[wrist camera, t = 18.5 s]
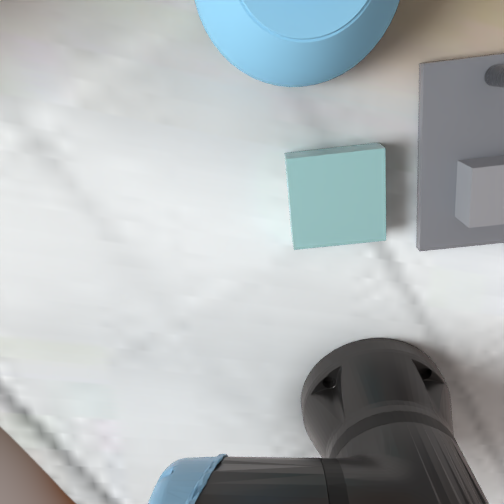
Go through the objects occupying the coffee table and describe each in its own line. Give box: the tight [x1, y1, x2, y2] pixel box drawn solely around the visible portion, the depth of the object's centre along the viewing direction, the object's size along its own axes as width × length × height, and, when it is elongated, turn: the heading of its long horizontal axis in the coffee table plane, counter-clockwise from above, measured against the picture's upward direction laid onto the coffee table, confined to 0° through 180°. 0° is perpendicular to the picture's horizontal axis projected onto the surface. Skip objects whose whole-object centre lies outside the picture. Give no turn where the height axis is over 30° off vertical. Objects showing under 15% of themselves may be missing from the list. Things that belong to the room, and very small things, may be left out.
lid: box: [285, 143, 386, 250], centre depth 41 cm, size 8×8×3 cm
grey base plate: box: [416, 53, 504, 251], centre depth 39 cm, size 16×11×4 cm
